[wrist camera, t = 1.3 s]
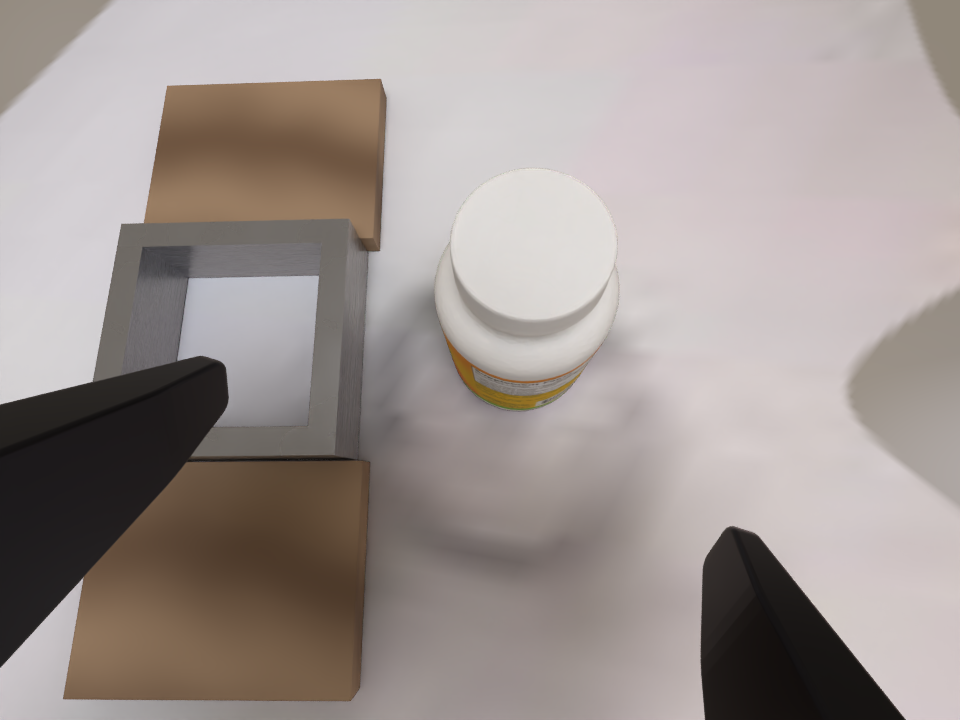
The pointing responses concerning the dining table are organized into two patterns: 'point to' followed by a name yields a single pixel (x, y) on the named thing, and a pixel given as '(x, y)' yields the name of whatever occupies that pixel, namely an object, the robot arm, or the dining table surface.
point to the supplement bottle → (527, 286)
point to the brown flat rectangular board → (245, 485)
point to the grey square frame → (242, 253)
